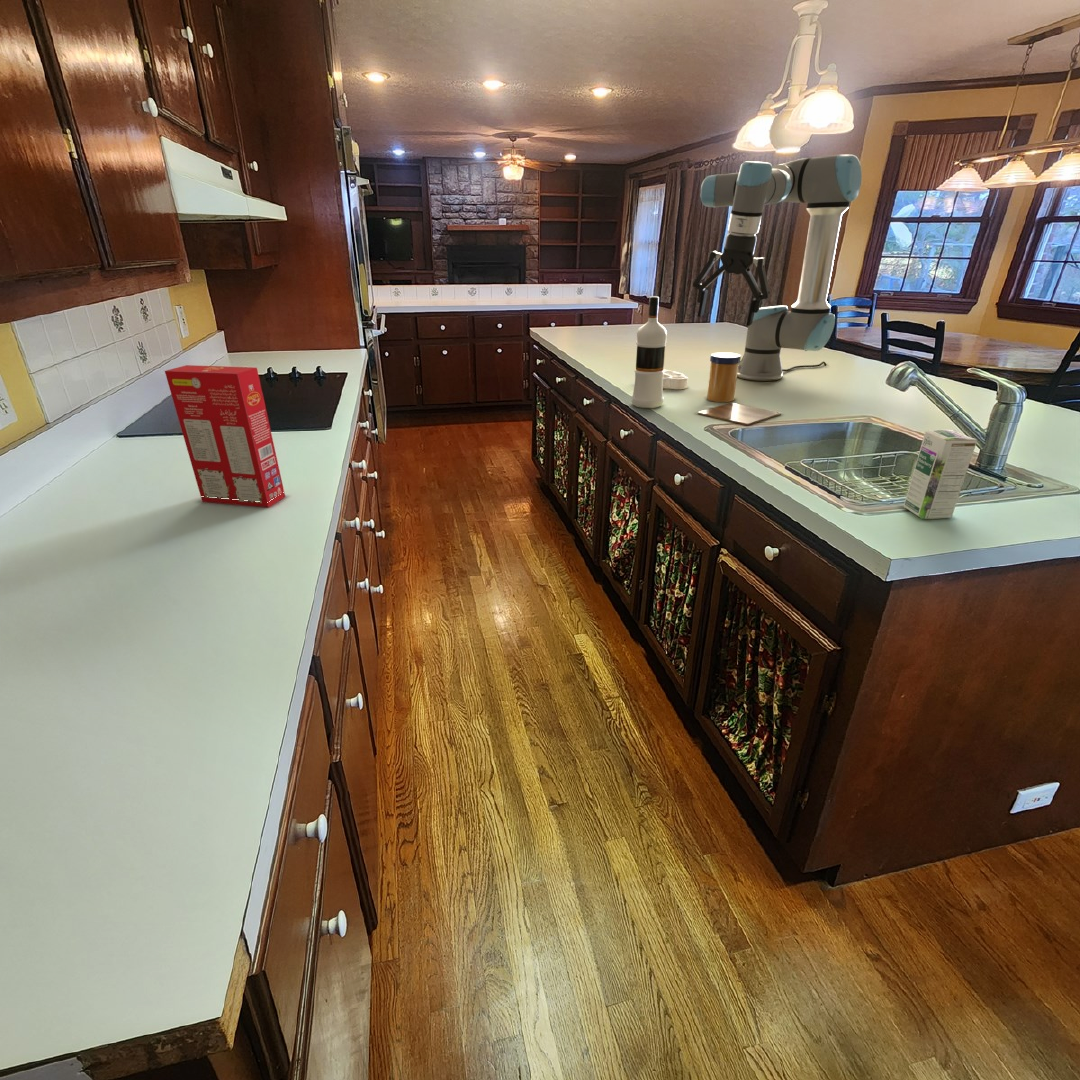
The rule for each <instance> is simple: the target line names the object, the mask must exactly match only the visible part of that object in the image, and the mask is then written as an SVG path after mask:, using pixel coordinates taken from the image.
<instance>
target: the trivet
mask: <svg viewBox="0 0 1080 1080" xmlns="http://www.w3.org/2000/svg"><path fill="white" fill-rule="evenodd" d="M697 415H701V416H705V417H709V418H713V419H717V420H721V421H726V422H730V423H735V424H738V425H742V426H750V425H754V424H757V423H760V422H762V421H766V420H769V419H772V418H774V417H779V416H781V415H782V413H781V412H779V411H774V410H768V409H763V408H759V407H754V406H750V405H745V404H741V403H735V402H727V403H725V404H722V405H718V406H715V407H711V408H707V409H704V410H700V411H698V412H697Z"/></svg>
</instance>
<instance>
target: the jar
mask: <svg viewBox="0 0 1080 1080" xmlns="http://www.w3.org/2000/svg"><path fill="white" fill-rule="evenodd" d="M738 366H739V363H736V364H719V363H713V362H711V361H710V367H709V377H708V384H707V385H708V386H707V394H706V399H707V400H708V401H712V402H715V403H731V402H733V401H735V396H736V388H737V382H738V380H737V379H738V377H737V373H738Z"/></svg>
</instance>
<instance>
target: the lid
mask: <svg viewBox="0 0 1080 1080" xmlns="http://www.w3.org/2000/svg"><path fill="white" fill-rule="evenodd" d="M741 356H742V355H741V354H739V353H735V352H713V353H711V354H710V358H709V362H710V363H711V362H713V363H719V364H736V363H739V362H740V361H741V360H742V357H741Z"/></svg>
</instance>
